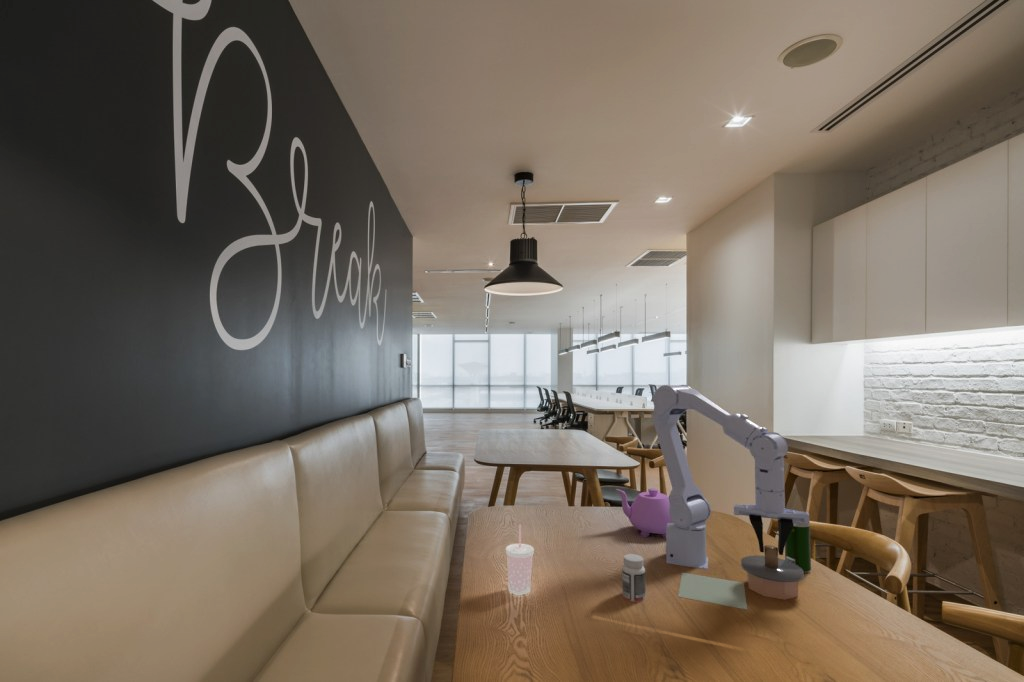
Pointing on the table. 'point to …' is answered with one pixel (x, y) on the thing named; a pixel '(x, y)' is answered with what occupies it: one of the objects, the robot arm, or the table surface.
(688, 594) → the mat
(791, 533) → the beer can
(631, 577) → the pill bottle
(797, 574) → the lid
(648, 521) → the teapot
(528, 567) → the beverage cup
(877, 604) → the table surface
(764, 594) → the bowl
